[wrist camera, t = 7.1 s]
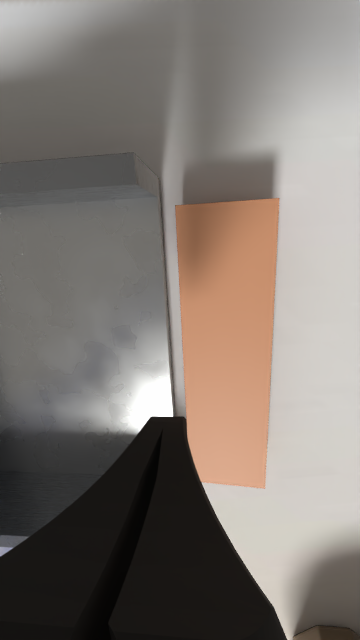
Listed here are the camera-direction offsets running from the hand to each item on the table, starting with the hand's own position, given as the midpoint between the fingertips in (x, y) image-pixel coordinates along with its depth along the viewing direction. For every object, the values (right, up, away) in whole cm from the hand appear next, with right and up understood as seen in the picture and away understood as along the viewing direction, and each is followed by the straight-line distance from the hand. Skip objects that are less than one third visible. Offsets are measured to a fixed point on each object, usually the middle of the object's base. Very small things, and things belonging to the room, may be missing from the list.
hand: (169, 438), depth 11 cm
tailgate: (0, +2, +6) cm, 7 cm away
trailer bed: (-8, +2, +8) cm, 12 cm away
